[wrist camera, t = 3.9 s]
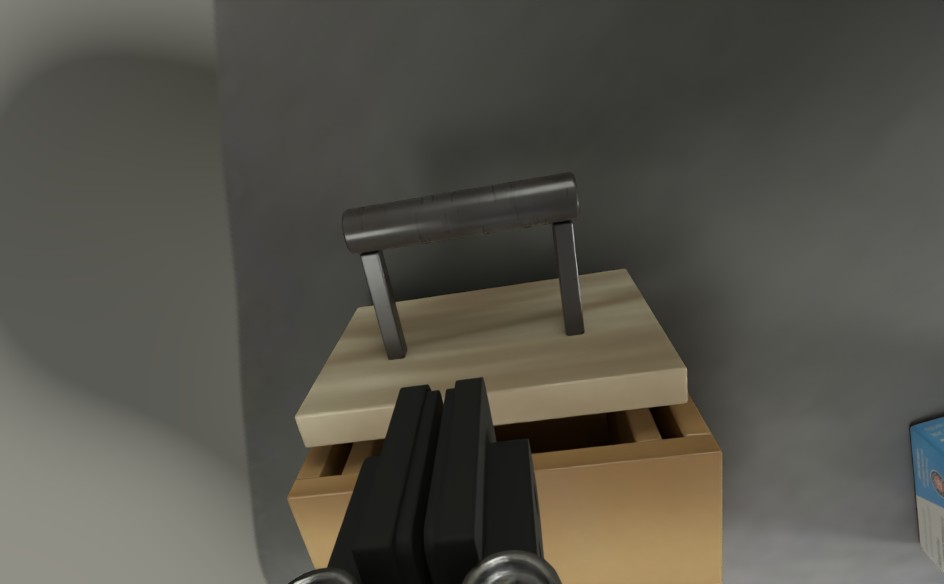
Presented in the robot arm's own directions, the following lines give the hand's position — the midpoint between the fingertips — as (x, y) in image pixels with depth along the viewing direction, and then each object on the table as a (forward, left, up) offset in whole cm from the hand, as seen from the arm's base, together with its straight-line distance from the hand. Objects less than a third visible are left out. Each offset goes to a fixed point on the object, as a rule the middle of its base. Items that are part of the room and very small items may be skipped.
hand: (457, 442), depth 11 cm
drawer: (+6, 0, -12) cm, 13 cm away
